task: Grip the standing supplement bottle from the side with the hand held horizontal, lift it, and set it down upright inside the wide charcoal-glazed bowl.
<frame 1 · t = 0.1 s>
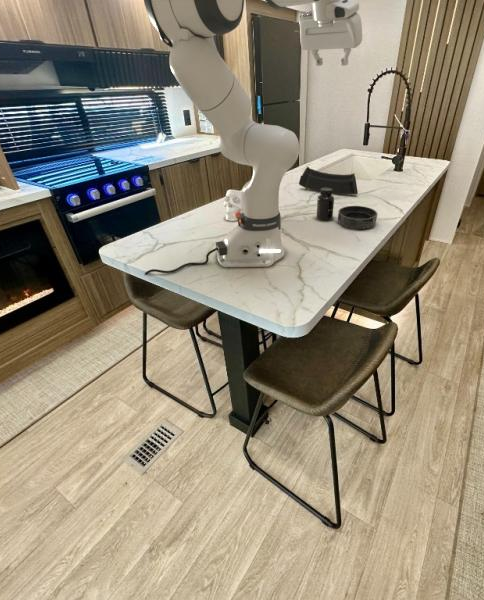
hand: (332, 65, 104), 52 cm above the table, tool tilted 20°, fingers open, 8 cm apart
supplement bottle: (324, 218, 136), on the table
skull bowl: (238, 215, 139), on the table
magazine: (327, 192, 164), on the table
bowl: (356, 223, 131), on the table
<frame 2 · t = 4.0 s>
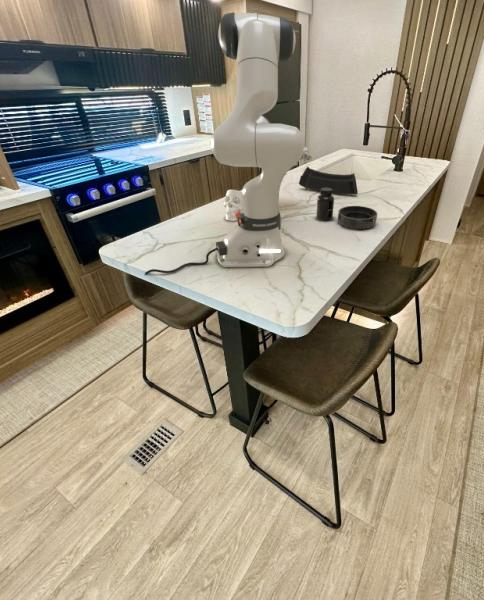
hand: (304, 160, 129), 21 cm above the table, tool horizontal, fingers open, 8 cm apart
nothing on the table moved.
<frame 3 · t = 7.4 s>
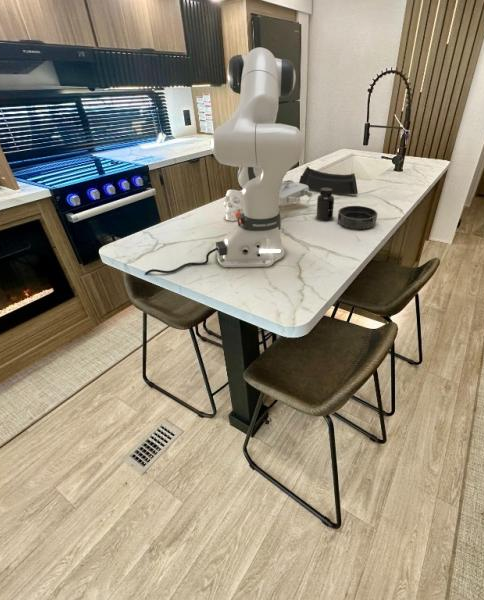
hand: (305, 197, 136), 7 cm above the table, tool horizontal, fingers open, 8 cm apart
nothing on the table moved.
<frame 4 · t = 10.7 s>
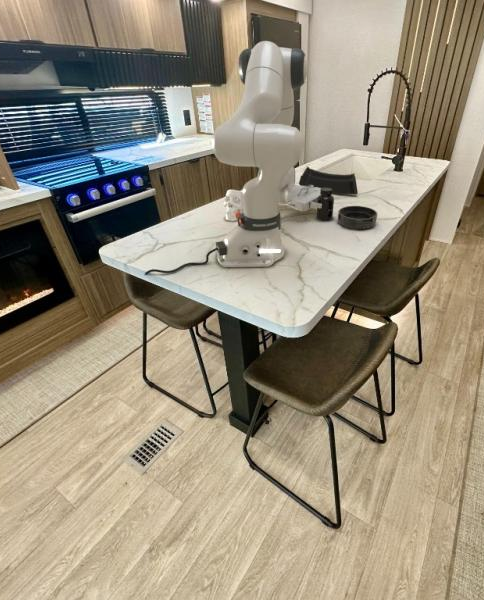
hand: (327, 203, 131), 7 cm above the table, tool horizontal, fingers closed on supplement bottle, 7 cm apart
supplement bottle: (324, 218, 136), on the table, touching gripper
everything else where it was.
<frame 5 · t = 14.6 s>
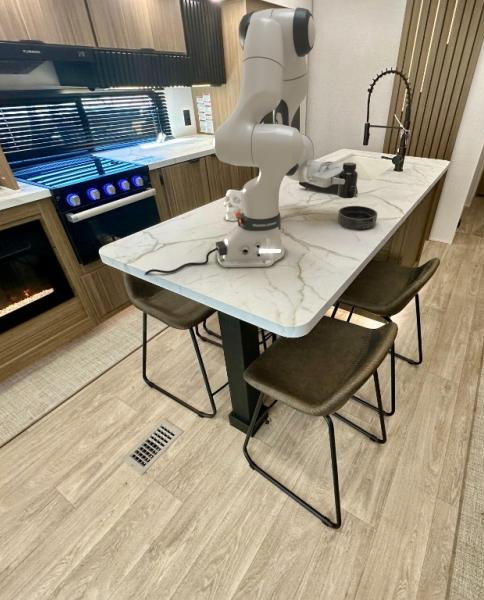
hand: (350, 179, 123), 17 cm above the table, tool horizontal, fingers closed on supplement bottle, 7 cm apart
supplement bottle: (346, 196, 127), point 10 cm above the table, touching gripper
everything else where it was.
when the fingers open (7 cm above the table, at t = 18.7 s): supplement bottle stays where it is, resting on bowl.
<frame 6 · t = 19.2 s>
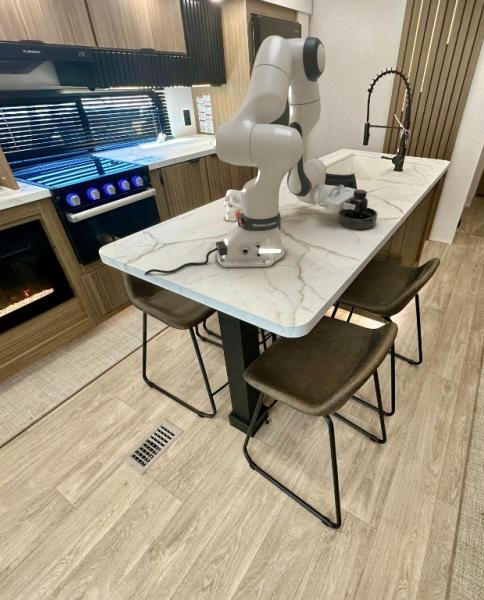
hand: (360, 203, 126), 8 cm above the table, tool horizontal, fingers open, 8 cm apart
supplement bottle: (356, 221, 131), point 1 cm above the table, touching bowl
everything else where it was.
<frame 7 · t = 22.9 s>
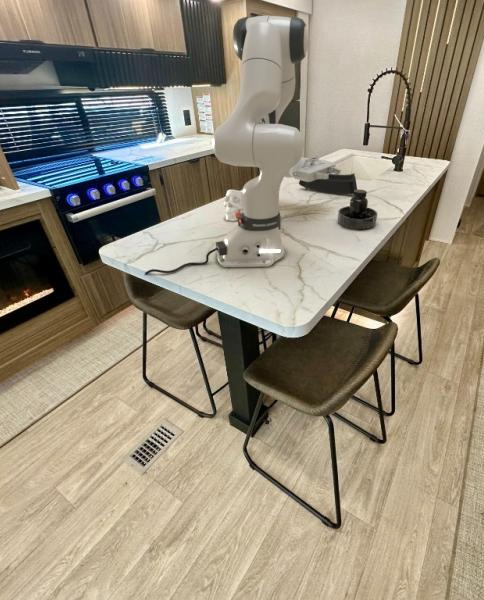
hand: (333, 174, 127), 17 cm above the table, tool horizontal, fingers open, 8 cm apart
nothing on the table moved.
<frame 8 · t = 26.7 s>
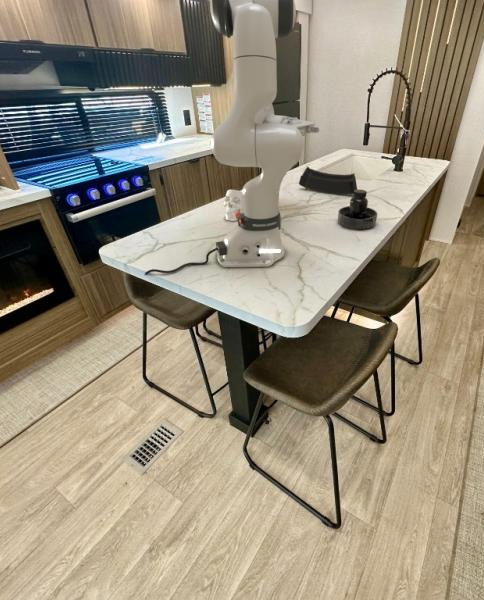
hand: (311, 131, 120), 32 cm above the table, tool horizontal, fingers open, 8 cm apart
nothing on the table moved.
at the end: supplement bottle inside the target area in the bowl (0.1 cm from its centre), point 0.6 cm above the bowl's base; supplement bottle tilted 0°; the gripper is holding nothing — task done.
